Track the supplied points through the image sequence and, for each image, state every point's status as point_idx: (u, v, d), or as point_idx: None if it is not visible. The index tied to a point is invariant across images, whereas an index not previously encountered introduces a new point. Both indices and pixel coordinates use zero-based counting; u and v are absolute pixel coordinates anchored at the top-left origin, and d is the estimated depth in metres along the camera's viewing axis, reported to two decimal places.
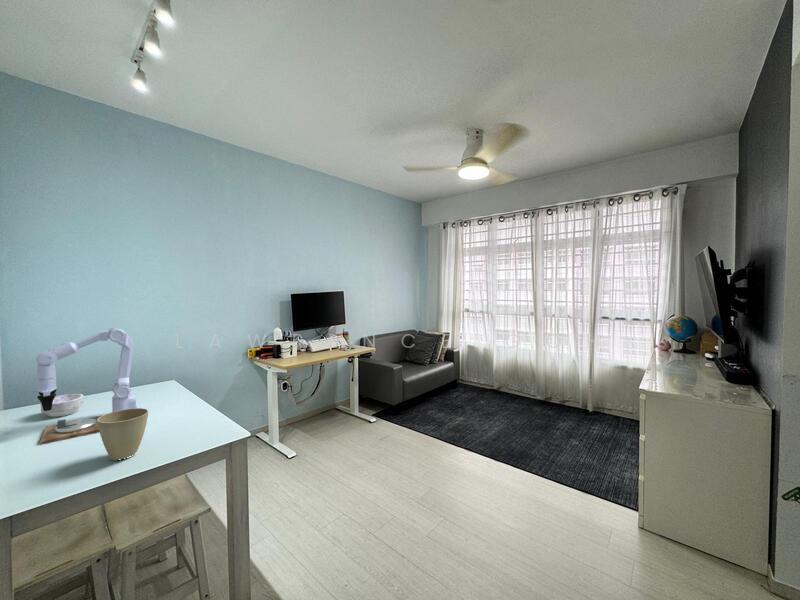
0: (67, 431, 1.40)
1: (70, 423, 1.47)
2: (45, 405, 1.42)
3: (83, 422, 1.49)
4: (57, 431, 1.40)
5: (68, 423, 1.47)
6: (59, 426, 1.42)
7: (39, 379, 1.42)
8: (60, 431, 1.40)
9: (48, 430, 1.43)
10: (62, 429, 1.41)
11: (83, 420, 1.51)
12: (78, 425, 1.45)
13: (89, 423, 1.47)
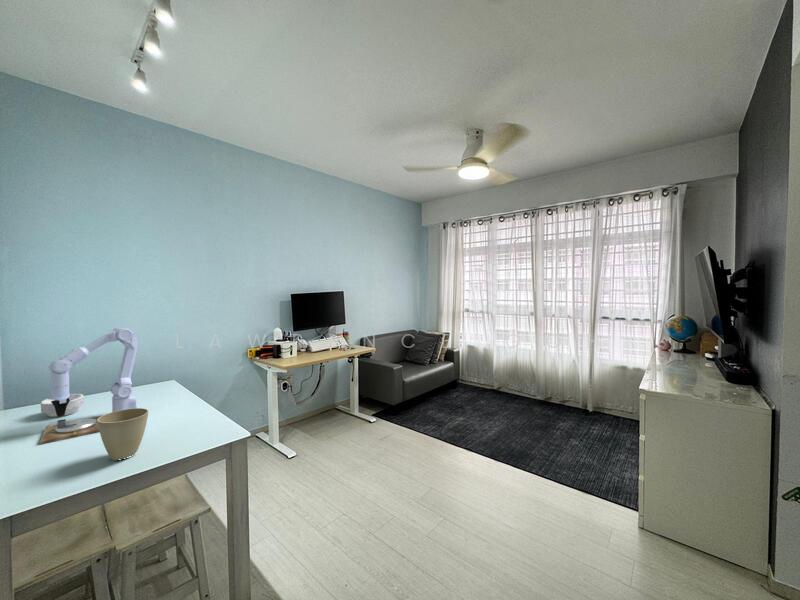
0: (67, 431, 1.40)
1: (70, 423, 1.47)
2: (59, 411, 1.45)
3: (83, 422, 1.49)
4: (57, 431, 1.40)
5: (68, 423, 1.47)
6: (59, 426, 1.42)
7: (54, 387, 1.43)
8: (60, 431, 1.40)
9: (48, 430, 1.43)
10: (62, 429, 1.41)
11: (83, 420, 1.51)
12: (78, 425, 1.45)
13: (89, 423, 1.47)
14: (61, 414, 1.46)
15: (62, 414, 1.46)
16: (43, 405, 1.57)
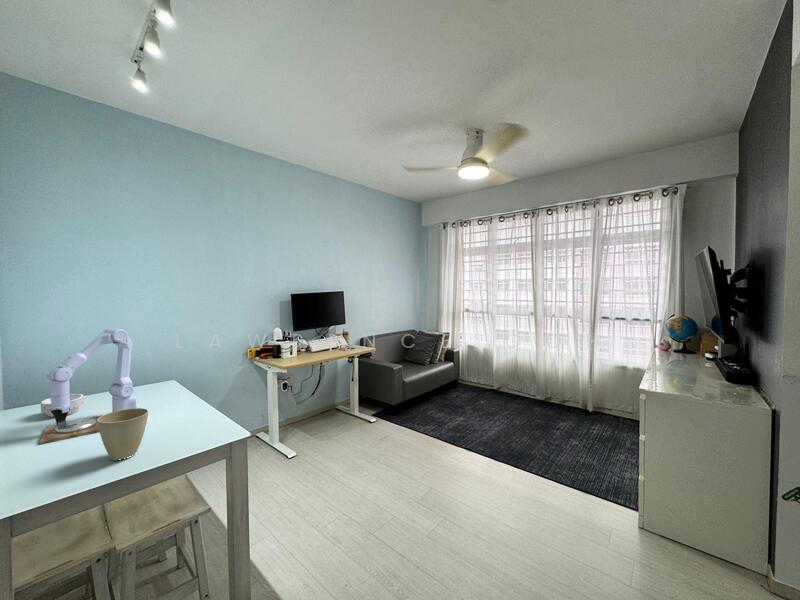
0: (72, 430, 1.41)
1: (68, 424, 1.46)
2: (59, 420, 1.42)
3: (82, 421, 1.49)
4: (60, 431, 1.40)
5: (65, 424, 1.46)
6: (60, 427, 1.41)
7: (55, 396, 1.40)
8: (64, 431, 1.40)
9: (48, 430, 1.43)
10: (65, 429, 1.41)
11: (80, 420, 1.50)
12: (80, 424, 1.46)
13: (91, 422, 1.48)
14: None
15: None
16: (43, 405, 1.57)
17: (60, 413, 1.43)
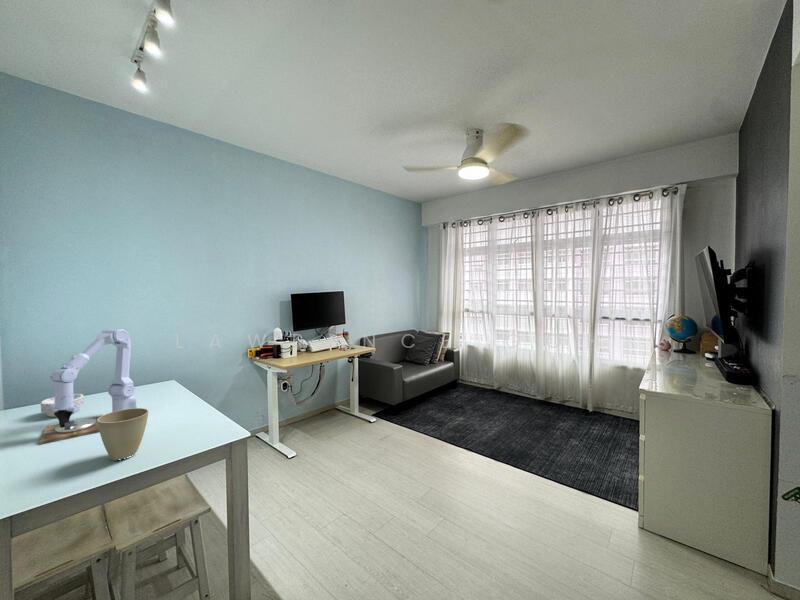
0: (89, 426, 1.46)
1: None
2: (63, 421, 1.41)
3: (76, 422, 1.48)
4: (77, 429, 1.42)
5: None
6: (71, 426, 1.42)
7: (61, 397, 1.39)
8: (82, 428, 1.43)
9: (48, 430, 1.43)
10: (80, 427, 1.43)
11: None
12: (83, 423, 1.48)
13: (89, 419, 1.51)
14: None
15: None
16: (43, 405, 1.57)
17: (64, 414, 1.41)
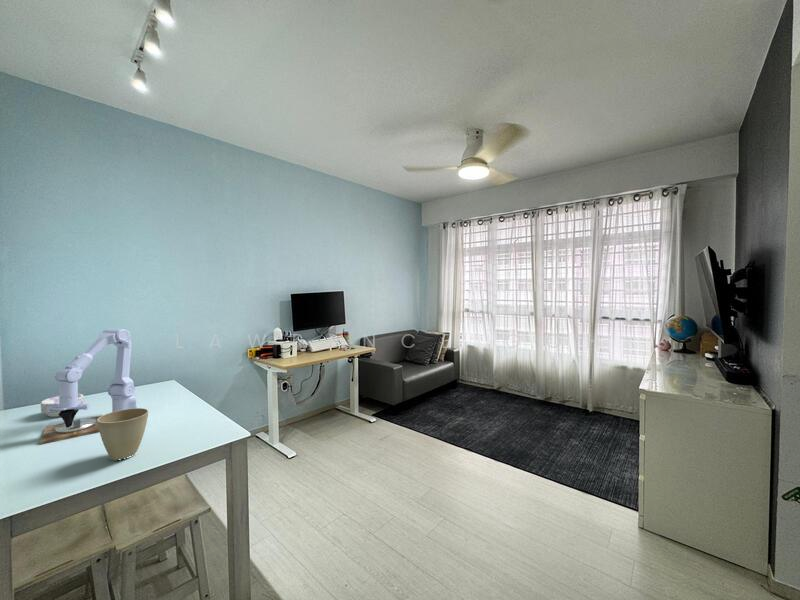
0: (95, 423, 1.49)
1: None
2: (69, 421, 1.41)
3: None
4: (87, 426, 1.45)
5: (65, 428, 1.42)
6: (80, 425, 1.44)
7: (66, 396, 1.39)
8: (91, 425, 1.47)
9: (48, 430, 1.43)
10: (88, 424, 1.46)
11: (63, 425, 1.45)
12: (83, 422, 1.48)
13: (83, 420, 1.51)
14: (70, 424, 1.42)
15: (70, 424, 1.42)
16: (43, 405, 1.57)
17: None
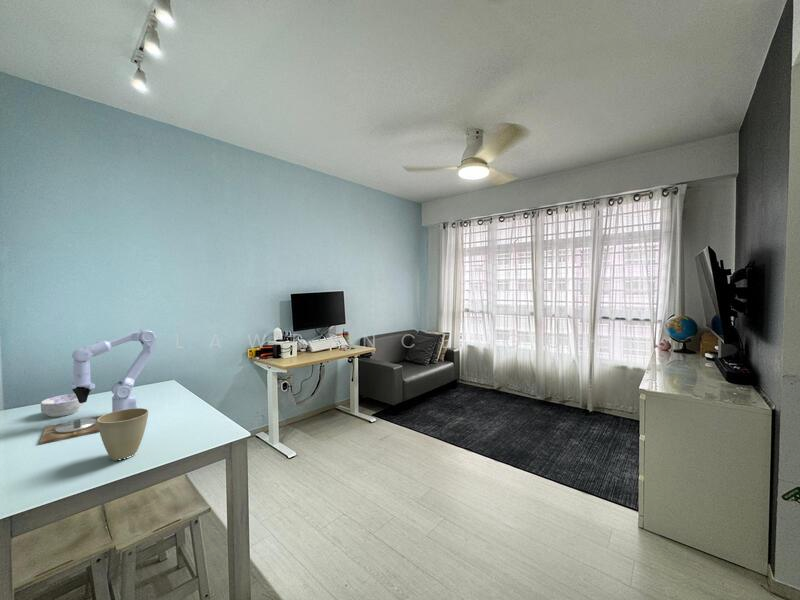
0: (95, 423, 1.49)
1: (66, 427, 1.43)
2: (82, 397, 1.52)
3: (71, 423, 1.47)
4: (87, 426, 1.45)
5: (65, 428, 1.42)
6: (80, 425, 1.44)
7: (76, 375, 1.50)
8: (91, 425, 1.47)
9: (48, 430, 1.43)
10: (88, 424, 1.46)
11: (63, 425, 1.45)
12: (83, 422, 1.49)
13: (83, 420, 1.51)
14: (84, 401, 1.53)
15: (84, 401, 1.53)
16: (43, 405, 1.57)
17: None
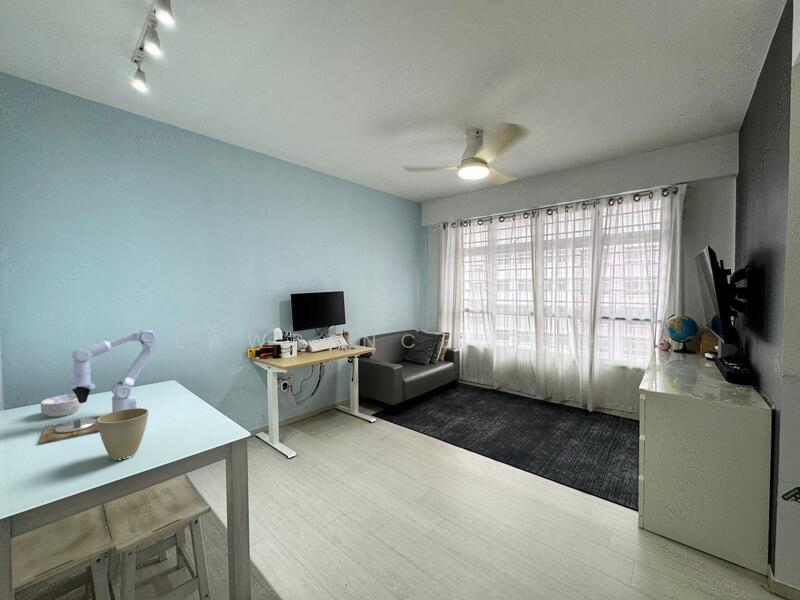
0: (95, 423, 1.49)
1: (66, 427, 1.43)
2: (82, 397, 1.52)
3: (71, 423, 1.47)
4: (87, 426, 1.45)
5: (65, 428, 1.42)
6: (80, 425, 1.44)
7: (76, 375, 1.50)
8: (91, 425, 1.47)
9: (48, 430, 1.43)
10: (88, 424, 1.46)
11: (63, 425, 1.45)
12: (83, 422, 1.49)
13: (83, 420, 1.51)
14: (84, 401, 1.53)
15: (84, 401, 1.53)
16: (43, 405, 1.57)
17: None
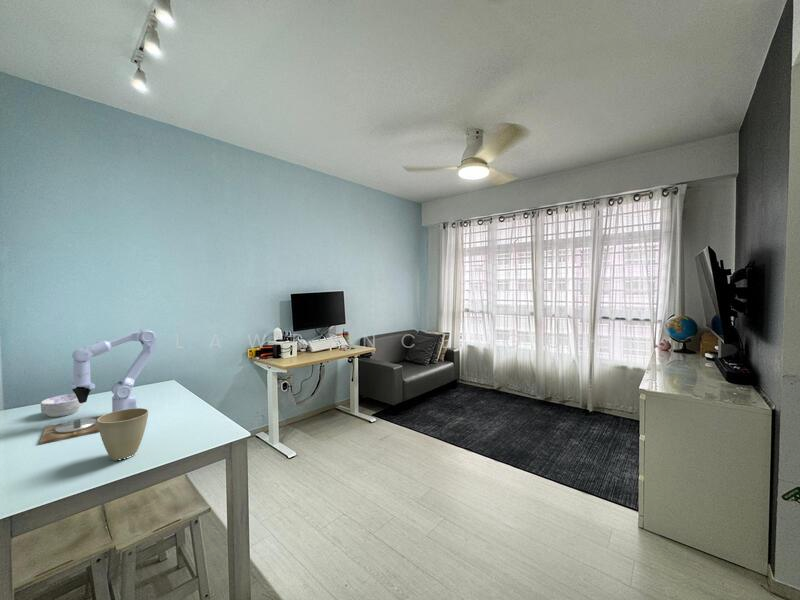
0: (95, 423, 1.49)
1: (66, 427, 1.43)
2: (82, 397, 1.52)
3: (71, 423, 1.47)
4: (87, 426, 1.45)
5: (65, 428, 1.42)
6: (80, 425, 1.44)
7: (76, 375, 1.50)
8: (91, 425, 1.47)
9: (48, 430, 1.43)
10: (88, 424, 1.46)
11: (63, 425, 1.45)
12: (83, 422, 1.49)
13: (83, 420, 1.51)
14: (84, 401, 1.53)
15: (84, 401, 1.53)
16: (43, 405, 1.57)
17: None
